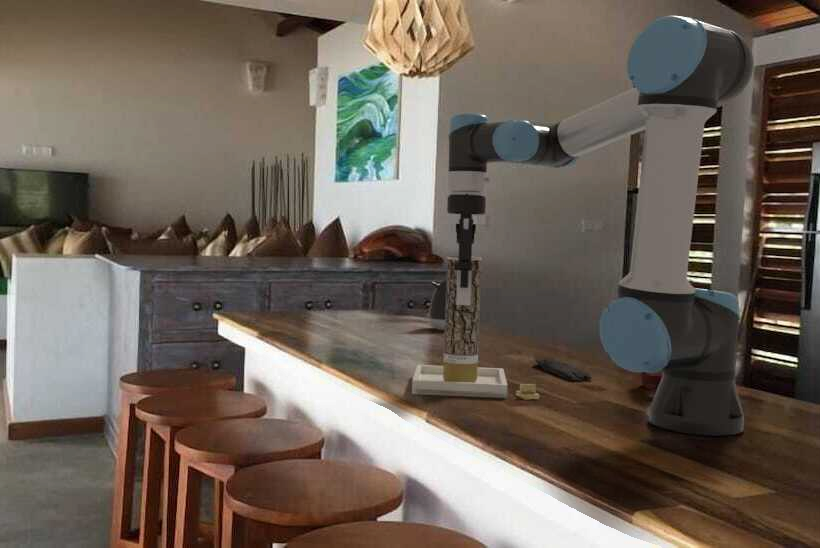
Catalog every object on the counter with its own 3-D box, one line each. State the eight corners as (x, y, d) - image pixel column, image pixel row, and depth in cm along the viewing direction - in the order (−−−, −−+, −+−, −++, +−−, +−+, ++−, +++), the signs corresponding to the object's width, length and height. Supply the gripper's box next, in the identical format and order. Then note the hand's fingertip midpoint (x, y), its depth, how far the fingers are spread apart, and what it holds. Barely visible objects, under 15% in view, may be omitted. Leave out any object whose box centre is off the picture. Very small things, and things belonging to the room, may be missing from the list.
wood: (603, 384, 182) (604, 369, 182) (572, 384, 180) (572, 370, 180) (556, 365, 203) (557, 353, 203) (528, 366, 201) (528, 353, 201)
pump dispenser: (421, 327, 261) (423, 277, 260) (452, 326, 265) (453, 277, 264) (436, 332, 251) (438, 280, 250) (468, 331, 256) (470, 280, 255)
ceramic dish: (506, 398, 162) (507, 385, 162) (411, 393, 163) (412, 380, 163) (502, 380, 180) (503, 368, 179) (417, 376, 181) (417, 364, 181)
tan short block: (539, 400, 162) (539, 386, 162) (524, 401, 161) (525, 386, 161) (530, 396, 166) (530, 382, 166) (515, 396, 165) (516, 382, 165)
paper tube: (474, 386, 167) (479, 258, 165) (440, 383, 168) (444, 256, 167) (478, 379, 174) (483, 256, 172) (445, 377, 175) (450, 255, 173)
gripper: (487, 192, 156) (483, 308, 157) (484, 196, 181) (481, 296, 182) (446, 191, 156) (442, 307, 158) (448, 195, 181) (445, 295, 183)
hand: (463, 301), depth 170 cm, fingers open, 13 cm apart
